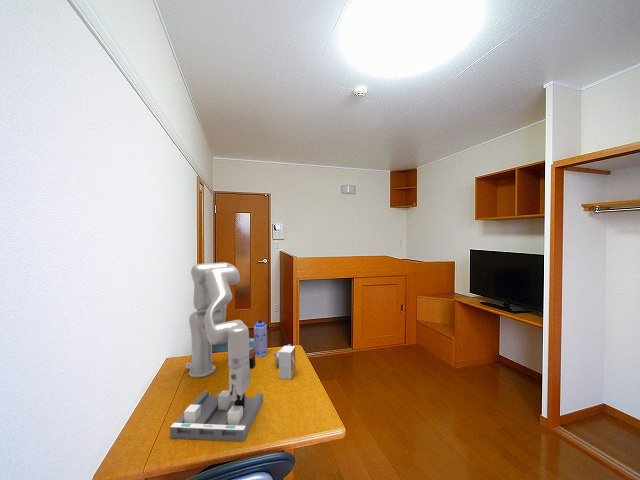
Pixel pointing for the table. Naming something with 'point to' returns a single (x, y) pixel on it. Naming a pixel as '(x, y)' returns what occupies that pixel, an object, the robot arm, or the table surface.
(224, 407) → the switch tab middle
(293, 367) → the small box
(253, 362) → the battery
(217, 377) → the table surface
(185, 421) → the switch tab left
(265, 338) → the aerosol can
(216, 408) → the switch panel
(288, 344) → the voltmeter
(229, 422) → the switch tab right
